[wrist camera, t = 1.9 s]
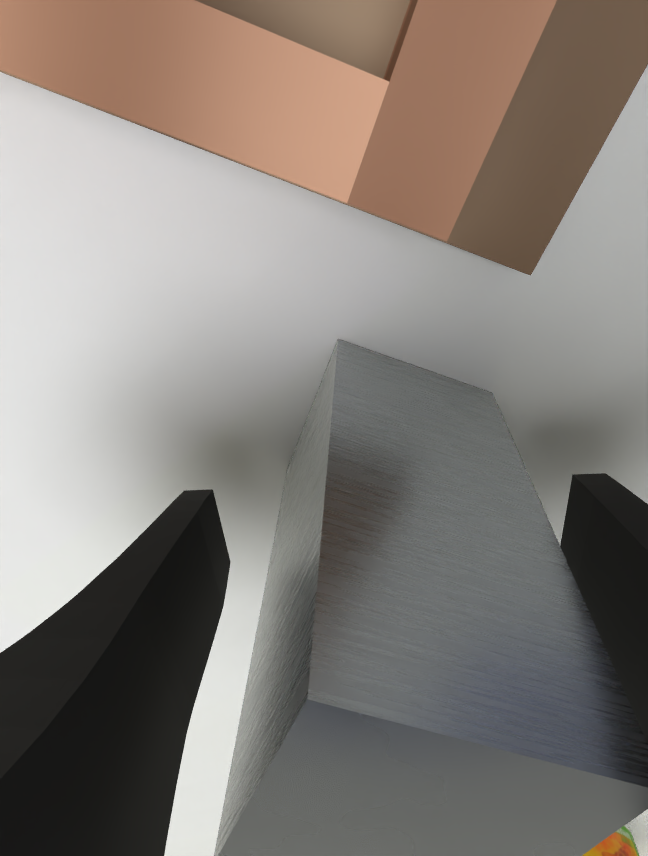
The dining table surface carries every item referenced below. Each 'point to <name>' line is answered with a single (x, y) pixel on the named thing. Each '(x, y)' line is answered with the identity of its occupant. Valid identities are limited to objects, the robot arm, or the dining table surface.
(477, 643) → the steel peg
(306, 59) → the socket station
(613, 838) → the supplement bottle
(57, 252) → the dining table surface
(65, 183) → the dining table surface
